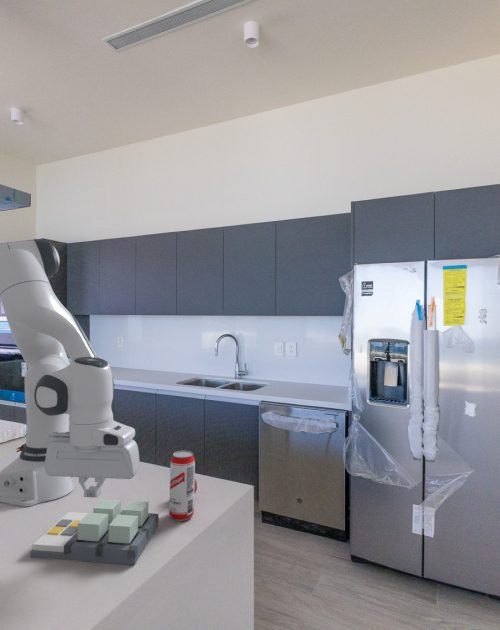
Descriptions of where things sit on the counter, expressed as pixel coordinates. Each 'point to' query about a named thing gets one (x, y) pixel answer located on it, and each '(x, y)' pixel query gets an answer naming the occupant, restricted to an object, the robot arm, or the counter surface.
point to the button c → (123, 529)
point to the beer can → (182, 485)
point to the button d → (137, 510)
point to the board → (91, 543)
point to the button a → (93, 527)
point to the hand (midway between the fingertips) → (92, 496)
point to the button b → (108, 508)
